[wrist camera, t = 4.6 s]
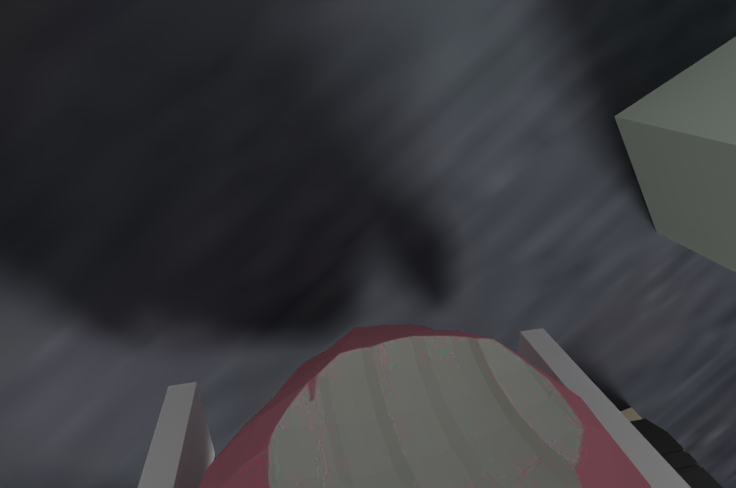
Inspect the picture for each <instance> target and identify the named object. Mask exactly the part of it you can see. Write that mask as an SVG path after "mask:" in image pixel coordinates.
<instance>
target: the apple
mask: <svg viewBox="0 0 736 488" xmlns="http://www.w3.org/2000/svg"><path fill="white" fill-rule="evenodd" d="M199 488H651V485H650V484H649V483H648V482H647V480H646V479H645V478H644V477H643V475H642V474H641V473H640V472H639V470H638V469H637V468H636V467H635V465H634V464H633V463H632V462H631V460H630V459H629V458H628V457H627V455H626V454H625V453H624V452H623V450H622V449H621V448H620V447H619V445H618V444H617V443H616V442H615V440H614V439H613V438H612V437H611V435H610V434H609V433H608V432H607V430H606V429H605V428H604V427H603V425H602V424H601V423H600V421H599V420H598V419H597V418H596V416H595V415H594V414H593V412H592V411H591V410H590V409H589V407H588V406H587V405H586V403H585V402H584V401H583V400H582V398H581V397H579V396H578V395H576V394H575V393H574V392H572V391H571V390H569V389H568V388H567V387H565V386H564V385H562V384H561V383H559V382H558V381H557V380H555V379H554V378H552V377H551V376H549V375H548V374H547V373H545V372H544V371H542V370H541V369H539V368H538V367H536V366H535V365H533V364H532V363H530V362H528V361H527V360H525V359H524V358H522V357H521V356H519V355H518V354H516V353H515V352H513V351H511V350H510V349H508V348H507V347H505V346H504V345H502V344H501V343H499V342H498V341H496V340H494V339H493V338H488V337H484V336H479V335H475V334H470V333H466V332H461V331H444V330H433V329H430V328H427V327H425V326H418V325H380V326H368V327H355V328H353V329H352V330H351V331H350V332H349V333H347V334H346V335H345V336H344V337H343V338H341V339H340V340H339V341H338V342H337V343H335V344H334V345H333V346H332V347H331V348H329V349H328V350H326V351H324V352H323V353H321V354H319V355H317V356H315V357H314V358H312V359H310V360H308V361H307V362H305V363H304V364H303V365H302V366H301V367H300V368H299V369H298V370H297V371H296V372H295V373H294V374H293V375H292V376H291V377H290V378H289V379H288V380H287V381H286V383H285V384H284V385H283V387H282V388H281V389H280V391H279V392H278V393H277V395H276V396H275V397H274V398H273V399H272V400H271V401H270V402H269V403H268V404H267V405H266V406H264V407H263V408H262V409H261V410H260V411H259V412H258V413H257V414H256V415H255V416H254V417H253V418H252V419H251V420H250V421H249V422H247V423H246V424H245V425H244V426H243V427H242V429H241V430H240V431H239V432H238V433H237V434H236V436H235V437H234V438H233V439H232V440H231V441H230V443H229V444H228V445H227V446H226V447H225V448H224V449H223V451H222V452H221V453H220V454H219V455H218V456H217V458H216V459H215V460H214V461H213V462H212V463H211V464H210V466H209V467H208V468H207V469H206V472H205V474H204V476H203V478H202V481H201V483H200V485H199Z"/></svg>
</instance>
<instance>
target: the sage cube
mask: <svg viewBox="0 0 736 488" xmlns="http://www.w3.org/2000/svg"><path fill="white" fill-rule="evenodd" d="M614 117H615V120H616V122H617V125H618V128H619V131H620V133H621V136H622V139H623V142H624V144H625V147H626V150H627V153H628V155H629V158H630V161H631V163H632V166H633V169H634V172H635V174H636V177H637V180H638V183H639V185H640V188H641V191H642V194H643V196H644V199H645V202H646V204H647V207H648V210H649V213H650V215H651V218H652V221H653V224H654V226H655V229H656V232H658V233H659V234H661V235H663V236H665V237H667V238H669V239H671V240H673V241H675V242H677V243H679V244H681V245H683V246H685V247H687V248H689V249H691V250H693V251H694V252H696V253H698V254H700V255H702V256H704V257H706V258H708V259H710V260H712V261H714V262H716V263H718V264H720V265H722V266H724V267H726V268H728V269H729V270H731V271H733V272H735V273H736V37H734V38H733V39H731V40H730V41H728V42H727V43H725V44H724V45H722V46H720V47H719V48H717V49H716V50H714V51H713V52H711V53H710V54H708V55H707V56H705V57H704V58H702V59H701V60H699V61H698V62H696V63H695V64H693V65H692V66H690V67H689V68H687V69H686V70H684V71H683V72H681V73H680V74H678V75H677V76H675V77H673V78H672V79H670V80H669V81H667V82H666V83H664V84H663V85H661V86H660V87H658V88H657V89H655V90H654V91H652V92H651V93H649V94H648V95H646V96H645V97H643V98H642V99H640V100H639V101H637V102H636V103H634V104H633V105H631V106H629V107H628V108H626V109H625V110H623V111H622V112H620V113H619V114H617V115H616V116H614Z"/></svg>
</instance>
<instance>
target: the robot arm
mask: <svg viewBox="0 0 736 488" xmlns="http://www.w3.org/2000/svg"><path fill="white" fill-rule="evenodd" d="M518 355H519V356H521V357H522V358H524V359H525V360H527V361H528V362H530V363H532V364H533V365H535V366H536V367H538V368H539V369H541V370H542V371H544V372H545V373H547V374H548V375H549V376H551V377H552V378H554V379H555V380H557V381H558V382H559V383H561V384H562V385H564V386H565V387H567V388H568V389H569V390H571V391H572V392H574V393H575V394H576V395H578V396H579V397H581V398H582V400H583V401H584V402H585V403H586V405H587V406H588V407H589V409H590V410H591V411H592V412H593V414H594V415H595V416H596V418H597V419H598V420H599V421H600V423H601V424H602V425H603V427H604V428H605V429H606V430H607V432H608V433H609V434H610V435H611V437H612V438H613V439H614V440H615V442H616V443H617V444H618V445H619V447H620V448H621V449H622V450H623V452H624V453H625V454H626V455H627V457H628V458H629V459H630V460H631V462H632V463H633V464H634V465H635V467H636V468H637V469H638V470H639V472H640V473H641V474H642V475H643V477H644V478H645V479H646V480H647V482H648V483H649V484H650V485H651V488H723V487H722V486H721V485H720V484H719V483H718V482H717V481H716V480H715V479H714V478H713V477H712V476H711V475H710V474H709V473H708V472H707V471H706V470H705V469H704V468H703V467H702V468H701V467H700V466H699V463H698V462H697V461H696V460H695V459H694V458H693V457H692V456H691V455H690V454H689V453H686V452H685V449H684V448H683V447H682V446H681V445H680V444H679V443H678V442H677V441H676V440H675V439H674V438H673V437H672V436H671V435H670V434H669V433H668V432H666V431H665V430H663V429H661V428H660V427H658V426H656V425H655V424H653V423H652V422H650V421H648V420H647V419H640V420H634V421H629V420H628V419H627V418H626V417H625V416H624V415H623V414H622V413H621V412H620V411H619V410H618V409H617V407H616V406H615V405H614V404H613V403H612V402H611V401H610V400H609V399H608V398H607V397H606V396H605V395H604V393H603V392H602V391H601V390H600V389H599V388H598V387H597V386H596V385H595V384H594V383H593V382H592V381H591V379H590V378H589V377H588V376H587V375H586V374H585V373H584V372H583V371H582V370H581V369H580V368H579V367H578V365H577V364H576V363H575V362H574V361H573V360H572V359H571V358H570V357H569V356H568V355H567V354H566V353H565V351H564V350H563V349H562V348H561V347H560V346H559V345H558V344H557V343H556V342H555V341H554V340H553V339H552V337H551V336H550V335H549V334H548V333H547V332H546V331H545V330H544V329H543V328H541V329H534V330H528V331H521V332H520V337H519V347H518ZM214 455H215V453H214V449H213V445H212V441H211V437H210V433H209V429H208V425H207V421H206V417H205V412H204V408H203V404H202V400H201V396H200V392H199V388H198V384H197V382H192V383H186V384H179V385H173V386H168V389H167V392H166V396H165V399H164V402H163V406H162V409H161V412H160V416H159V419H158V422H157V426H156V429H155V432H154V436H153V439H152V442H151V445H150V449H149V452H148V455H147V459H146V462H145V465H144V469H143V472H142V475H141V479H140V482H139V485H138V488H199V485H200V483H201V481H202V478H203V476H204V474H205V472H206V469H207V468H208V467H209V466H210V464H211V463H212V462H213V461H214Z"/></svg>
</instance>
